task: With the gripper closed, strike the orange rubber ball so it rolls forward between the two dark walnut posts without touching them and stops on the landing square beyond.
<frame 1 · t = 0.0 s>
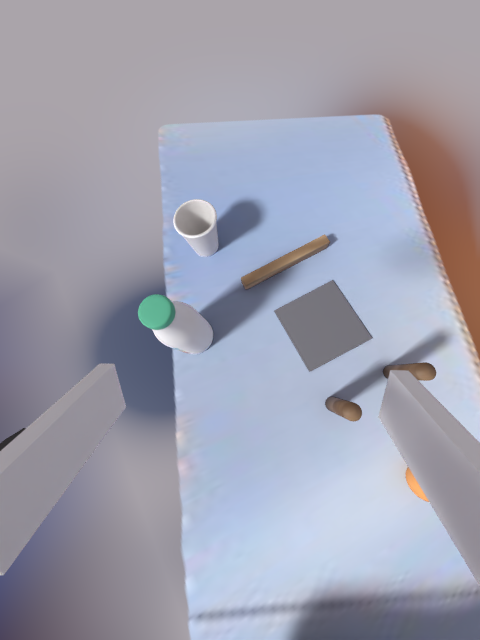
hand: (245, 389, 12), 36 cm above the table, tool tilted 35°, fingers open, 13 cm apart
ball: (426, 481, 38), on the table
dixie cup: (206, 246, 54), on the table
post 2: (390, 372, 45), on the table
milk bottle: (196, 336, 50), on the table
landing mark: (321, 324, 48), on the table
post 1: (332, 404, 44), on the table
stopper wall: (284, 265, 51), on the table
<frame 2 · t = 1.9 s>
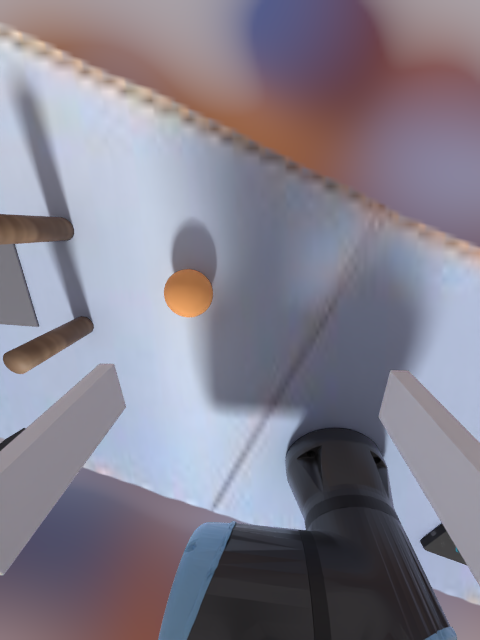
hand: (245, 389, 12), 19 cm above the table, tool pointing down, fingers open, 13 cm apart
ball: (188, 293, 27), on the table
post 2: (63, 229, 28), on the table
smart home device: (476, 543, 44), on the table
post 1: (84, 325, 33), on the table
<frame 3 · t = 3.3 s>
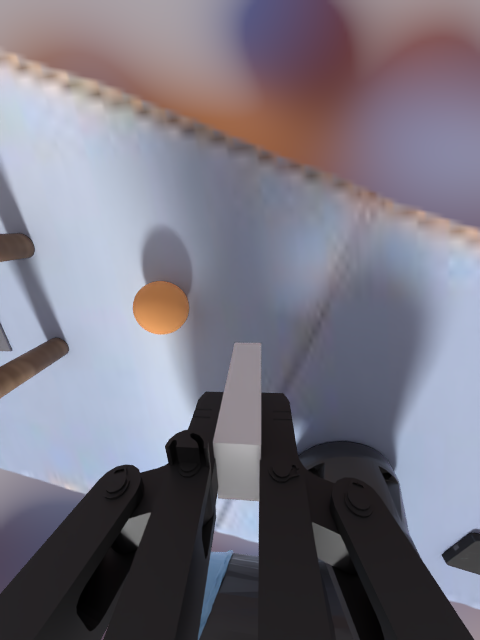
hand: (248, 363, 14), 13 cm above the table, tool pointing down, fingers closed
ball: (161, 307, 24), on the table
post 2: (22, 245, 26), on the table
post 1: (58, 346, 31), on the table
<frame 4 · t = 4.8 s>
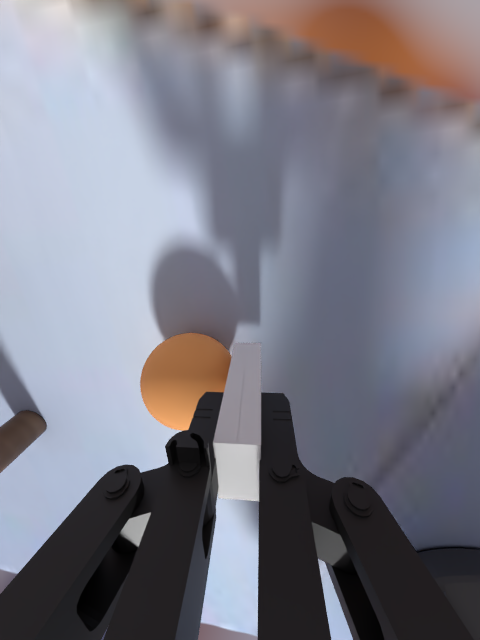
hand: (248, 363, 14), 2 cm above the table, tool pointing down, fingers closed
ball: (190, 379, 14), on the table, touching gripper
post 1: (31, 422, 20), on the table
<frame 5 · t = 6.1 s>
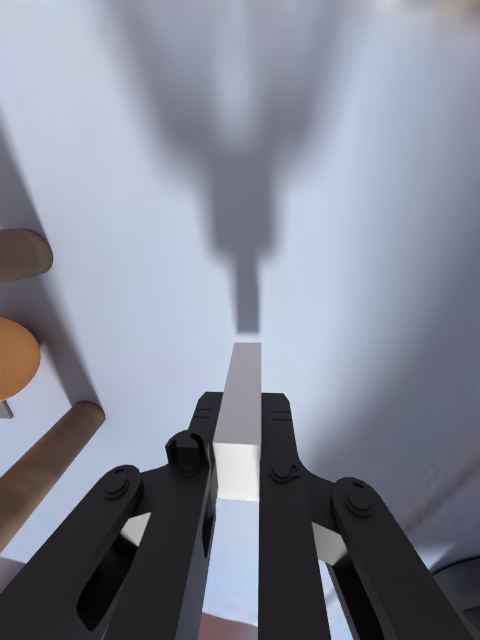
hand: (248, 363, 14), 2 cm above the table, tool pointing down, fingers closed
post 2: (31, 251, 14), on the table
post 1: (89, 413, 19), on the table
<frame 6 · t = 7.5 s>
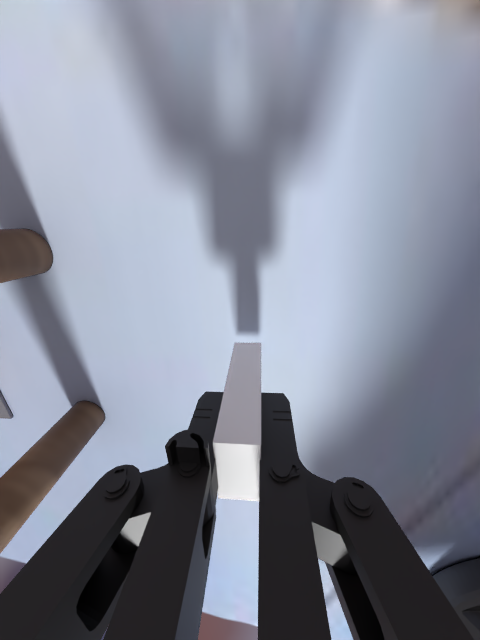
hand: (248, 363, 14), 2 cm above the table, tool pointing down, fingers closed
post 2: (31, 251, 14), on the table
post 1: (89, 413, 19), on the table
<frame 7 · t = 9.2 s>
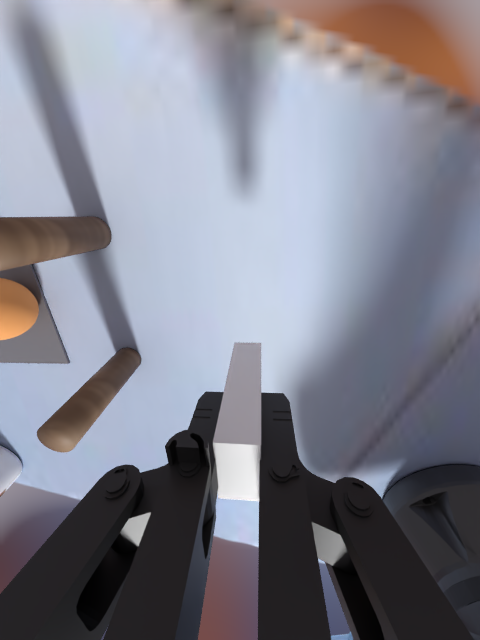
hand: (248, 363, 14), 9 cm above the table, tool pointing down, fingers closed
post 2: (96, 233, 20), on the table
post 1: (129, 358, 25), on the table
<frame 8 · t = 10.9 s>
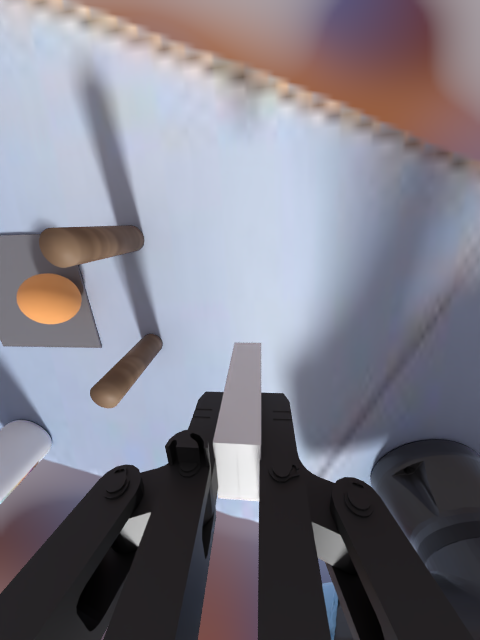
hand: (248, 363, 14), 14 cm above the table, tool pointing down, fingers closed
ball: (51, 299, 26), on the table
post 2: (132, 238, 25), on the table
milk bottle: (32, 434, 39), on the table
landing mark: (33, 295, 29), on the table
post 1: (152, 343, 30), on the table
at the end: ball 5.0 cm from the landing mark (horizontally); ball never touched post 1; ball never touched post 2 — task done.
